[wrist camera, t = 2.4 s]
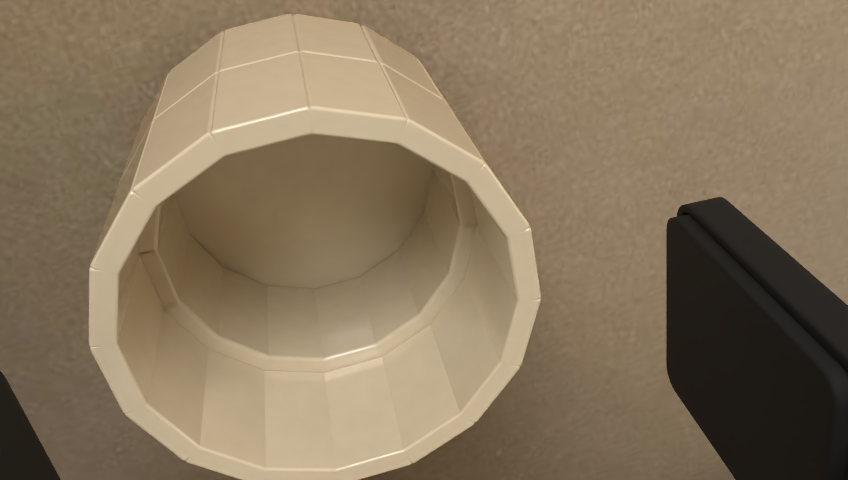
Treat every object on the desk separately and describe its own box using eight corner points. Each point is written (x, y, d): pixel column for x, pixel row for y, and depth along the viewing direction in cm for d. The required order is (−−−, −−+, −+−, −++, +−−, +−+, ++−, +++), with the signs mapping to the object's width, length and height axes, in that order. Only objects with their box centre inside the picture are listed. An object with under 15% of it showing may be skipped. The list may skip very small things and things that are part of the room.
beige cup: (135, 290, 18) (87, 486, 13) (145, -16, 15) (89, 79, 10) (424, 308, 20) (485, 487, 15) (486, 36, 17) (589, 140, 12)
